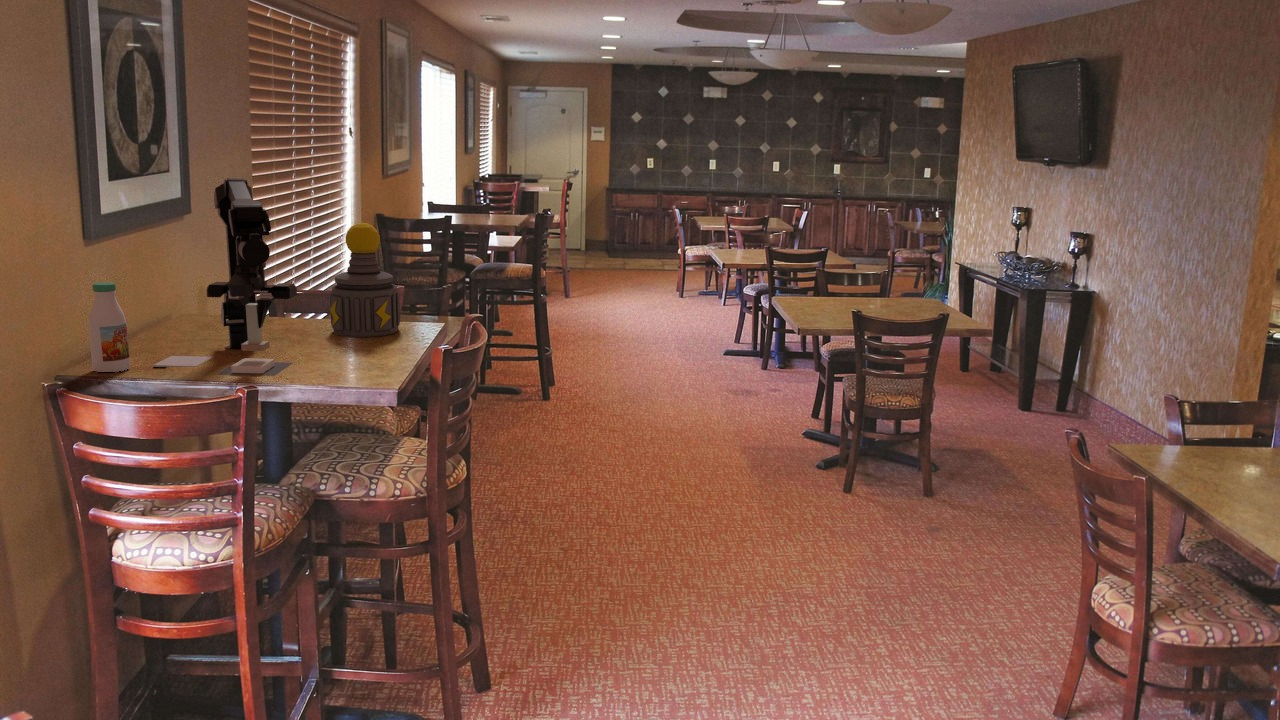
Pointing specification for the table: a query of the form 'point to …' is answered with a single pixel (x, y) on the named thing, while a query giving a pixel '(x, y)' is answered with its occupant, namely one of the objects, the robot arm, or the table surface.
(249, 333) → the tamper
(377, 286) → the decorative lamp
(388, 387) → the table surface
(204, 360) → the pad
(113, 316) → the milk bottle
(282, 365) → the mat
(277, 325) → the table surface
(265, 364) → the tile
